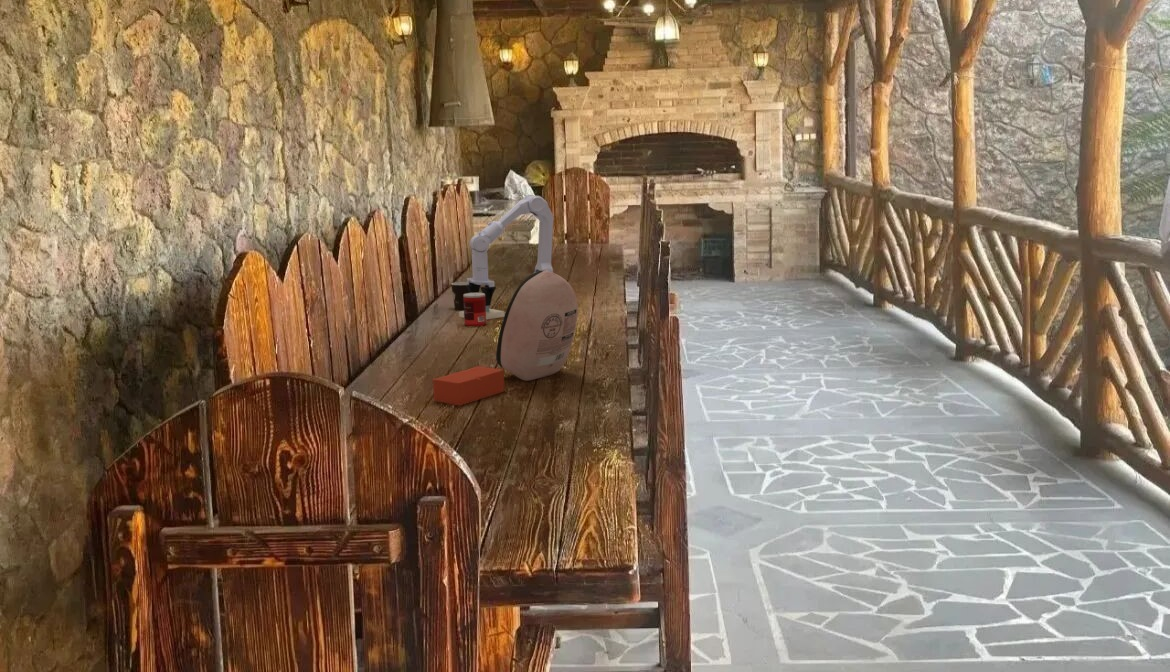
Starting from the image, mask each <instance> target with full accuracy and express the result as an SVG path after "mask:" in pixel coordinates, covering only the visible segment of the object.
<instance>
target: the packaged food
mask: <svg viewBox="0 0 1170 672" xmlns="http://www.w3.org/2000/svg"><path fill="white" fill-rule="evenodd" d="M578 306H579V305H578V301H577V296H576V293H575V290H574V288H573V287H572V286H571V284H570V283H569V282H568V281H567V280H566V279H565V278H564V277H562V276H561V275H559V274H557V273H555V272H554V271H553V272H550V271H538V272H536V273H534V272H533V273H532V274H530V275H529V276H527V277H526V278H525V279H524V280H523V281H522V282H521V283H520V284H519V285H518V287H517V288H516V290H515V291H514V293H513V295H512V297H511V299H510V301H509V303H508V305H507V307H506V310H505V312H504V313H505V316H504V317H503V320H502V323H501V327H500V328H499V329H500V330H499V335H498V338H497V345H496V353H495V360H496V363H497V364H498V366H499V367H501V369H502V370H504V371H507V372H508V373H510V374H512V375H513V376H515V377H517V378H518V379H521V380H522V381H524V382H525V381H526V382H528V381H533V380H537V379H542V378H544V377H548V376H552V375H554V374H557V373H558V372H559V371H560V370H561V369H562V368H564V365H565V364H566V362H567V361H568V358H569V355H570V351H571V348H572V345H573V343H574V338H575V334H576V329H577V325H578V314H579V313H578V312H579V311H578V310H579V308H578Z"/></svg>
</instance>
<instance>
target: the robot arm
mask: <svg viewBox="0 0 1170 672" xmlns="http://www.w3.org/2000/svg"><path fill="white" fill-rule="evenodd" d="M527 214H532V215H534V217H535V218H537V220H538V221H539V224H538V225H539V226H538V245H537V262H536V265H535V267H534V272H533V274H534V273H536V272H538V271H550V272H553V273H554V268H553V265H552V252H553V237H554V235H553V234H554V232H553V231H554V215H553V212H552V210H551V209H550V206H549V204H548V201H547V200H545V199H544V198H543V197H542V196H540V195H533V194H528V195H526V196H525V197H524V198H522V199H520V200H519V201H518V202H517V203H516V204H515V205H514V206H513V207H512V208H511V209H509V210H508V211H507V212H506V213H505V214H504V215H503V216H502V217H501V218H500V219H498V220H493V221H489V222H488V223H487V226H485V227H484V228H483V229H482V230H479V231H478V232H477V234H475V235H473V236H472V237H471V238H470V241H469V243H468V244H469V246H470V248H471V264H472V265H471V267H472V268H471V269H472V277H467V278H466V282H467V283H468V284H469V285H466V288H467V289H468V291H469V293H480V290H481V293H484V294H485V303H486V306H489V307H490V306H491V304H492V299H493V296H494V292H495V290H496V289H497V287H496V286H495V280H491V279H489V265H488V264H489V263H488V262H489V261H488V249H489V248H490V245H491V244H492V243H494V242H495V241H496V240H497V239H498V238H499V237H500V236H502V234H504V231H505V230H504V229H505V228H506V227H507V226H508V225H510V224H511V223H512V222H513V221H514V220H515V219H517V218H518V217H520V216H521V215H527Z"/></svg>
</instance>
